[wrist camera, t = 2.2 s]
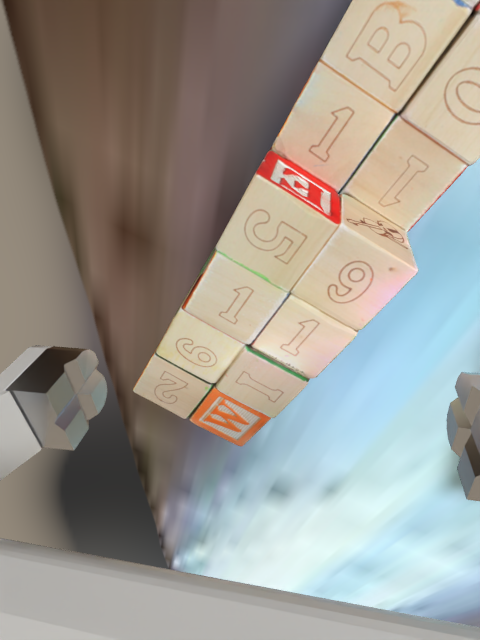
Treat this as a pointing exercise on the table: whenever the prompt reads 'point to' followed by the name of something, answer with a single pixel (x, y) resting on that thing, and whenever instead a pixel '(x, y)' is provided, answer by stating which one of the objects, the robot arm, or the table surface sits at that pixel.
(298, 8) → the table surface
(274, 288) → the stack of blocks
